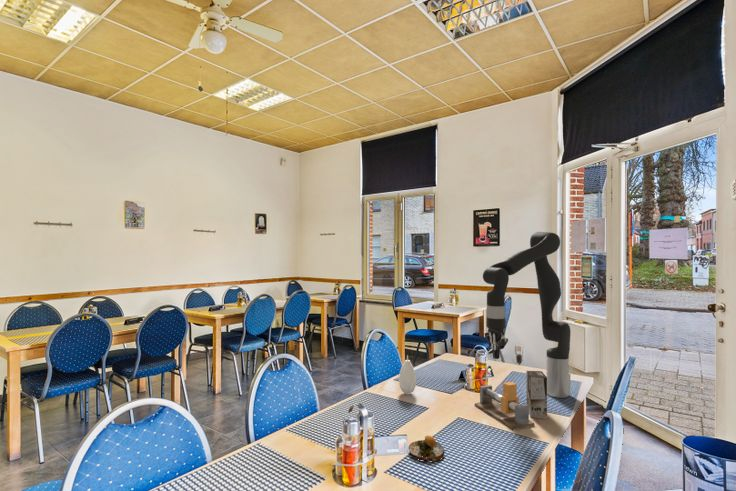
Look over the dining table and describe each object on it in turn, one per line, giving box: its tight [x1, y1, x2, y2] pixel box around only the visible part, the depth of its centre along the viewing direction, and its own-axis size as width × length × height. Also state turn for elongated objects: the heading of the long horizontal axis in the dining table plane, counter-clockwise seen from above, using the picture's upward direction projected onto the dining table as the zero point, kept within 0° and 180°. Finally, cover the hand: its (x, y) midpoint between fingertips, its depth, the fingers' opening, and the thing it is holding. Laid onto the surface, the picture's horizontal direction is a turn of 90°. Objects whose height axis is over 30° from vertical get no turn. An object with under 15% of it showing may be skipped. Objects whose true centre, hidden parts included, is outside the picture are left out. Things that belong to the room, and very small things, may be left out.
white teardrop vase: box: [398, 354, 417, 396], centre depth 187 cm, size 8×8×18 cm
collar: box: [500, 381, 520, 414], centre depth 160 cm, size 3×6×11 cm, turn 110°
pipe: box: [479, 384, 530, 426], centre depth 164 cm, size 24×5×7 cm, turn 20°
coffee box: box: [525, 370, 548, 419], centre depth 166 cm, size 9×6×16 cm
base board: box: [474, 399, 535, 431], centre depth 164 cm, size 24×10×1 cm, turn 20°
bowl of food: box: [408, 434, 445, 462], centre depth 134 cm, size 12×12×8 cm
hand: (496, 358), depth 168 cm, fingers closed
